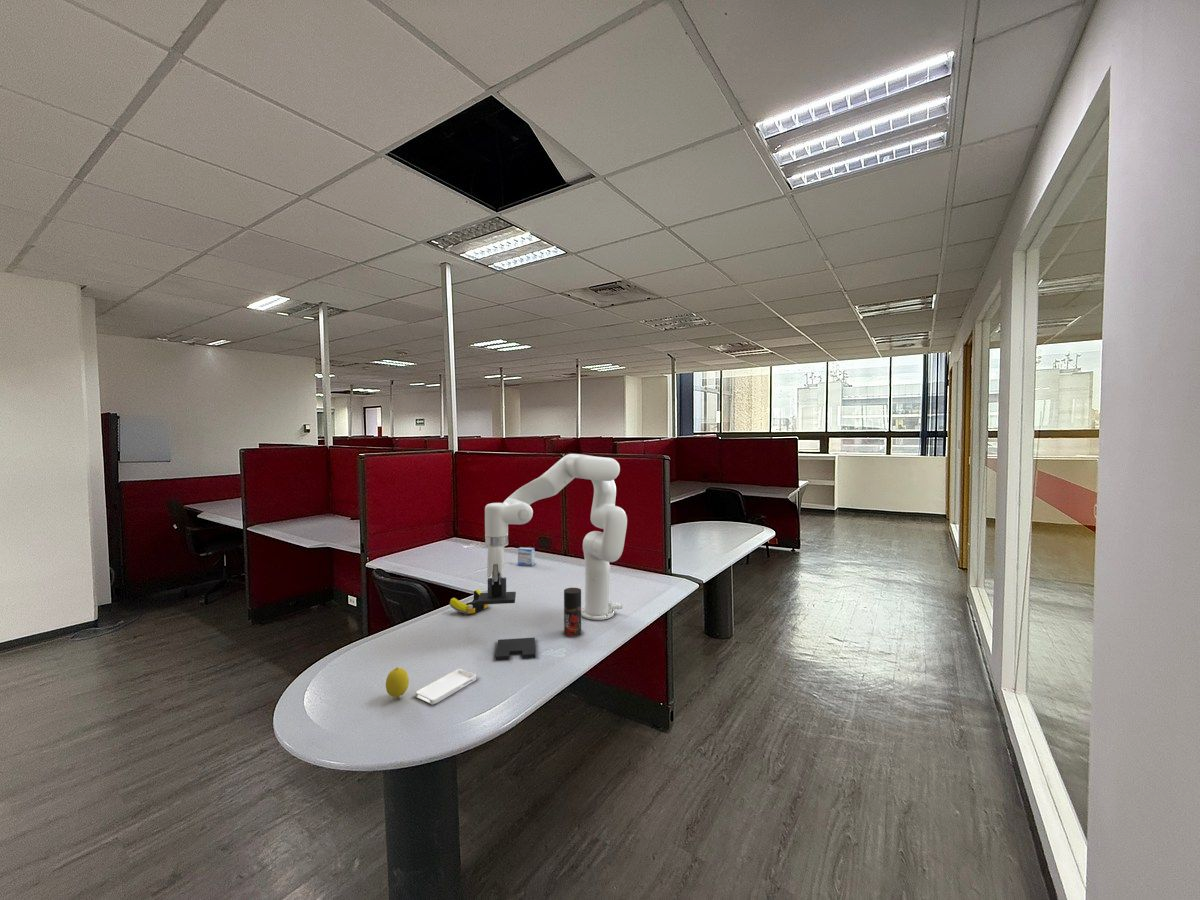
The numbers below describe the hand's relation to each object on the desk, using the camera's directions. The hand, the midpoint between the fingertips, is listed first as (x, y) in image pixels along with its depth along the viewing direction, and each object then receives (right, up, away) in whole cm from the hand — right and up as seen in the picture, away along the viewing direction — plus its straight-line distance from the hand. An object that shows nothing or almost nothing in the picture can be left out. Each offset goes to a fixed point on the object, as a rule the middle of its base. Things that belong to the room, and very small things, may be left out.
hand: (497, 594), depth 159 cm
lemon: (-18, -17, -35) cm, 43 cm away
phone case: (-7, -16, -30) cm, 35 cm away
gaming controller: (-16, -14, +27) cm, 35 cm away
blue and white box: (-4, -12, +91) cm, 92 cm away
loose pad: (0, -2, +1) cm, 2 cm away
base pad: (+8, -15, -8) cm, 19 cm away
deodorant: (+25, -15, +5) cm, 30 cm away
